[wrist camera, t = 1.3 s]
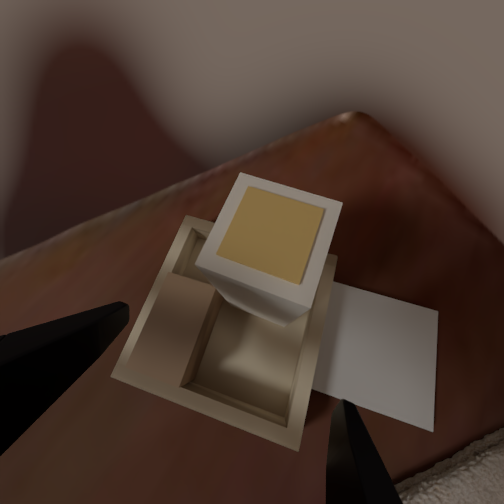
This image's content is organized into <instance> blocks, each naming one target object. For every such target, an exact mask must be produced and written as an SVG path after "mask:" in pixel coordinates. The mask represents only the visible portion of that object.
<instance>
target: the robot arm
mask: <svg viewBox="0 0 504 504" xmlns="http://www.w3.org/2000/svg"><path fill="white" fill-rule="evenodd" d="M128 322H129V305H128V304H126V303H123V302H121V301H119V302H115V303H111V304H108V305H104V306H101V307H98V308H94V309H91V310H87V311H84V312H81V313H77V314H74V315H70V316H67V317H63V318H60V319H57V320H53V321H50V322H46V323H43V324H40V325H36V326H33V327H29V328H26V329H23V330H19V331H16V332H12V333H9V334H7V335H2V336H0V456H1V455H2V454H3V453H4V452H5V451H6V450H7V449H8V448H9V447H10V446H11V445H12V444H13V443H14V442H15V441H16V440H17V439H18V438H19V437H20V436H21V435H22V434H23V433H24V432H25V431H26V430H27V429H28V428H29V427H30V426H31V425H32V424H33V423H34V422H35V421H36V420H37V419H38V418H39V417H40V416H41V415H42V414H43V413H44V412H45V411H46V410H47V409H48V408H49V407H50V406H51V405H52V404H53V403H54V402H55V401H56V400H57V399H58V398H59V397H60V396H61V395H62V394H63V393H64V392H65V391H66V390H67V389H68V388H69V387H70V386H71V385H72V384H73V383H74V382H75V381H76V380H77V379H78V378H79V377H80V376H81V375H82V374H83V373H84V372H85V371H86V370H87V369H88V368H89V367H90V366H91V365H92V364H93V363H94V362H95V361H96V360H97V359H98V358H99V357H100V356H101V355H102V354H103V352H104V351H105V350H106V349H107V348H108V347H109V345H110V344H111V343H112V342H113V341H114V339H115V338H116V337H117V336H118V335H119V333H120V332H121V331H122V330H123V329H124V327H125V326H126V325H127V323H128ZM326 504H403V503H402V501H401V498H400V496H399V494H398V492H397V490H396V488H395V486H394V484H393V482H392V480H391V478H390V476H389V474H388V472H387V470H386V468H385V466H384V463H383V461H382V459H381V457H380V455H379V453H378V451H377V449H376V447H375V445H374V443H373V441H372V439H371V437H370V435H369V433H368V430H367V428H366V426H365V424H364V422H363V420H362V418H361V416H360V414H359V412H358V410H357V408H356V406H355V404H354V403H352V402H350V401H348V400H346V399H341V400H340V402H339V403H338V405H337V406H336V408H335V409H334V411H333V413H332V417H331V426H330V436H329V445H328V454H327V465H326Z"/></svg>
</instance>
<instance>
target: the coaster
mask: <svg viewBox="0 0 504 504" xmlns="http://www.w3.org/2000/svg"><path fill="white" fill-rule="evenodd" d="M437 330H438V311H435V310H432V309H428V308H425V307H421V306H418V305H414V304H411V303H407V302H404V301H400V300H397V299H393V298H390V297H386V296H383V295H379V294H376V293H372V292H369V291H365V290H362V289H358V288H354V287H351V286H347V285H344V284H340V283H337V282H333V283H332V288H331V293H330V298H329V303H328V308H327V313H326V318H325V323H324V328H323V333H322V338H321V343H320V348H319V353H318V358H317V363H316V368H315V373H314V378H313V383H312V388H311V389H313V390H316V391H319V392H322V393H325V394H327V395H330V396H333V397H336V398H339V399H346V400H348V401H350V402H352V403H354V404H356V405H358V406H361V407H364V408H367V409H370V410H372V411H375V412H378V413H381V414H384V415H386V416H389V417H392V418H395V419H398V420H400V421H403V422H406V423H409V424H412V425H414V426H417V427H420V428H423V429H426V430H429V431H431V432H433V424H434V400H435V377H436V353H437Z"/></svg>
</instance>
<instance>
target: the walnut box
mask: <svg viewBox="0 0 504 504" xmlns="http://www.w3.org/2000/svg"><path fill="white" fill-rule="evenodd" d="M223 299H224V297H223V296H222V295H221V294H220V293H219V292H218V290H217V289H216V288H215V287H214V286H213V285H210V284H206V283H203V282H200V281H197V280H194V279H190V278H187V277H184V276H181V275H178V274H174V273H171V272H168V273H167V276H166V278H165V280H164V282H163V284H162V287H161V289H160V291H159V293H158V295H157V298H156V300H155V302H154V304H153V306H152V309H151V311H150V313H149V315H148V317H147V320H146V322H145V324H144V326H143V329H142V331H141V333H140V335H139V337H138V340H137V342H136V344H135V346H134V348H133V351H132V353H131V355H130V357H129V359H128V362H127V364H126V366H125V367H126V368H128V369H131V370H133V371H136V372H139V373H141V374H144V375H146V376H149V377H152V378H154V379H157V380H159V381H162V382H164V383H167V384H170V385H172V386H175V387H177V388H180V387H181V386H183V385H185V384H187V383H189V382H191V381H192V380H194V379H195V378H196V375H197V372H198V369H199V367H200V364H201V361H202V358H203V355H204V353H205V350H206V347H207V344H208V341H209V339H210V336H211V333H212V330H213V327H214V324H215V322H216V319H217V316H218V313H219V310H220V308H221V305H222V302H223Z"/></svg>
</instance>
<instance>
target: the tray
mask: <svg viewBox="0 0 504 504" xmlns="http://www.w3.org/2000/svg"><path fill="white" fill-rule="evenodd" d="M214 224H215V223H213V222H210V221H206V220H202V219H198V218H195V217H191V216H187V215H186V216H185V218H184V220H183V223H182V225H181V227H180V229H179V231H178V233H177V235H176V238H175V240H174V242H173V244H172V246H171V248H170V250H169V253H168V255H167V257H166V259H165V261H164V263H163V265H162V268H161V270H160V272H159V274H158V276H157V278H156V280H155V283H154V285H153V287H152V289H151V291H150V293H149V295H148V298H147V300H146V302H145V304H144V306H143V308H142V310H141V313H140V315H139V317H138V319H137V321H136V323H135V325H134V327H133V330H132V332H131V334H130V336H129V338H128V340H127V342H126V345H125V347H124V349H123V351H122V353H121V355H120V357H119V360H118V362H117V364H116V366H115V368H114V370H113V372H112V375H111V377H112V378H115V379H117V380H120V381H122V382H125V383H127V384H130V385H132V386H135V387H137V388H140V389H142V390H145V391H147V392H150V393H152V394H155V395H157V396H160V397H162V398H165V399H167V400H170V401H172V402H175V403H177V404H180V405H182V406H185V407H187V408H190V409H192V410H195V411H197V412H200V413H202V414H205V415H207V416H210V417H212V418H215V419H217V420H220V421H222V422H225V423H227V424H230V425H232V426H235V427H237V428H240V429H242V430H245V431H247V432H250V433H252V434H255V435H258V436H260V437H263V438H265V439H268V440H270V441H273V442H275V443H278V444H280V445H283V446H285V447H288V448H290V449H293V450H295V451H298V452H299V447H300V442H301V437H302V432H303V427H304V422H305V417H306V412H307V407H308V402H309V397H310V393H311V388H312V383H313V378H314V373H315V368H316V363H317V358H318V353H319V348H320V343H321V338H322V333H323V328H324V323H325V318H326V313H327V308H328V303H329V298H330V293H331V288H332V283H333V278H334V273H335V268H336V263H337V259H338V256H336V255H333V254H329V253H327V257H326V260H325V263H324V266H323V270H322V273H321V276H320V280H319V283H318V286H317V290H316V293H315V296H314V299H313V303H312V306H311V309H309V310H308V311H306V312H305V313H304V314H302V315H301V316H299V317H298V318H296V319H295V320H294V321H292V322H291V323H289V324H288V325H286V326H285V327H283V326H280V325H278V324H275V323H273V322H270V321H268V320H265V319H263V318H260V317H258V316H255V315H253V314H250V313H248V312H245V311H243V310H240V309H238V308H235V307H233V306H231V305H230V304H229V303H228V302H227V301H226V300H225V298H224V299H223V302H222V305H221V308H220V310H219V313H218V316H217V319H216V322H215V324H214V327H213V330H212V333H211V336H210V339H209V341H208V344H207V347H206V350H205V353H204V355H203V358H202V361H201V364H200V367H199V369H198V372H197V375H196V378H195V379H194V380H192V381H191V382H189V383H187V384H185V385H183V386H181V387H180V388H177V387H175V386H172V385H170V384H167V383H164V382H162V381H159V380H157V379H154V378H152V377H149V376H146V375H144V374H141V373H139V372H136V371H133V370H131V369H128V368H126V367H125V366H126V364H127V362H128V359H129V357H130V355H131V353H132V351H133V348H134V346H135V344H136V342H137V340H138V337H139V335H140V333H141V331H142V329H143V326H144V324H145V322H146V320H147V317H148V315H149V313H150V311H151V309H152V306H153V304H154V302H155V300H156V298H157V295H158V293H159V291H160V289H161V287H162V284H163V282H164V280H165V278H166V276H167V273H168V272H171V273H174V274H178V275H181V276H184V277H187V278H190V279H194V280H197V281H200V282H203V283H206V284H210V285H212V284H211V282H210V281H209V280H208V279H207V278H206V277H205V276H204V274H203V273H202V272H201V271H200V270H199V269H198V268H197V267H196V265H195V262H196V260H197V258H198V256H199V254H200V252H201V250H202V248H203V246H204V244H205V242H206V240H207V238H208V236H209V234H210V232H211V230H212V228H213V226H214Z"/></svg>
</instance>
